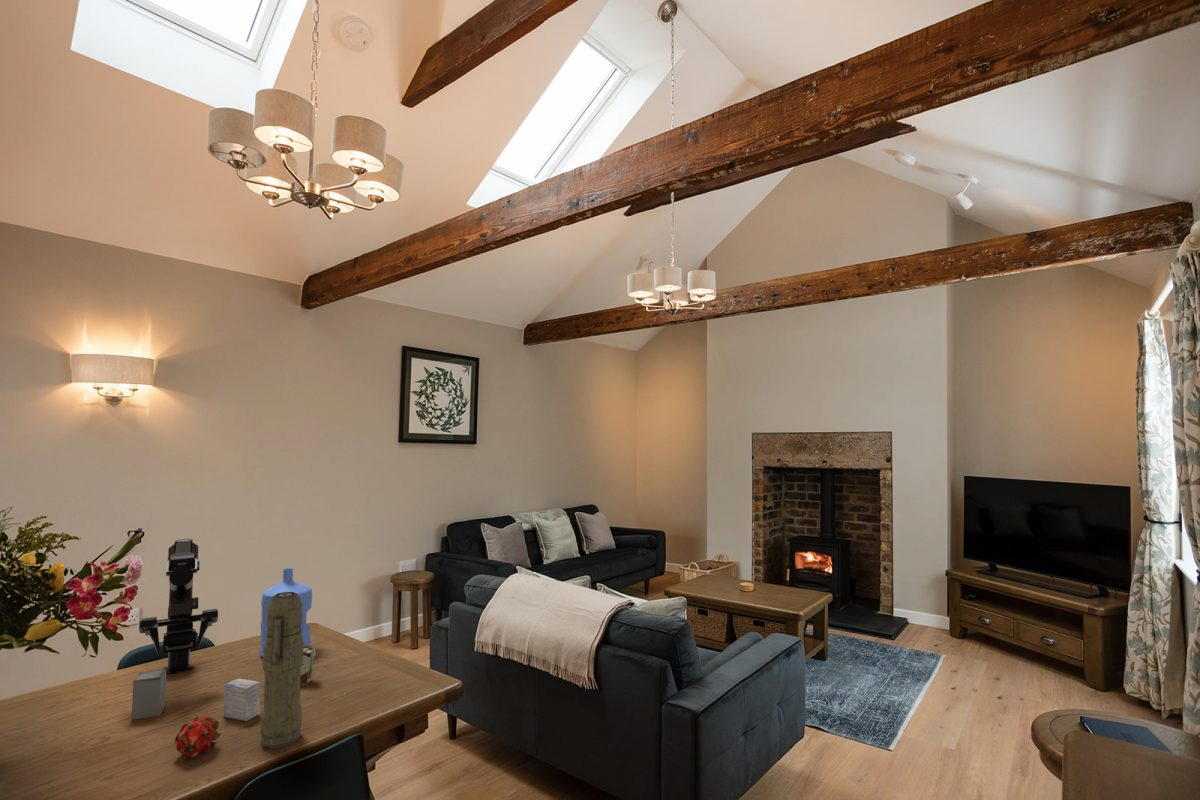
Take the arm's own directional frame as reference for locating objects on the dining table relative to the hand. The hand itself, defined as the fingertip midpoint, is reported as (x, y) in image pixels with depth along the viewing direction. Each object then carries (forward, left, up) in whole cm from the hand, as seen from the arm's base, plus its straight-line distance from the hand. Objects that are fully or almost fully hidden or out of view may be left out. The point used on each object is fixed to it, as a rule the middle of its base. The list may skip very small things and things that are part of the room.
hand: (178, 651), depth 173 cm
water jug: (-13, +37, -13) cm, 41 cm away
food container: (+15, +27, -13) cm, 34 cm away
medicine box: (+26, +6, -13) cm, 30 cm away
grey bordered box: (+4, -8, -13) cm, 16 cm away
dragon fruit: (+38, -9, -13) cm, 42 cm away
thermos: (+47, +6, -13) cm, 50 cm away
